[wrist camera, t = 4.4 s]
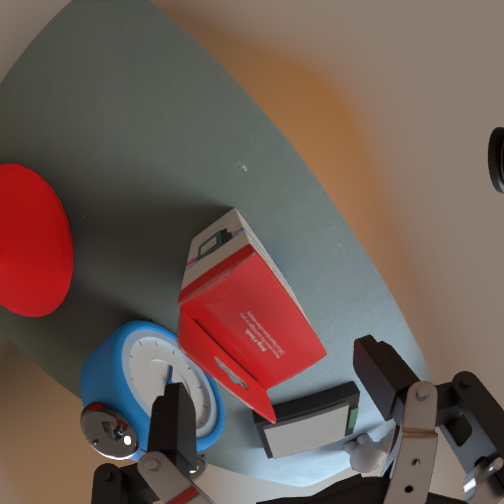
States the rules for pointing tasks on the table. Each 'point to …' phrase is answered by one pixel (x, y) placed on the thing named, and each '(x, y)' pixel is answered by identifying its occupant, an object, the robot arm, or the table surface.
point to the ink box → (242, 315)
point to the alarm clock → (142, 391)
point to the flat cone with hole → (32, 243)
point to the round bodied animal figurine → (368, 452)
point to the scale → (309, 421)
